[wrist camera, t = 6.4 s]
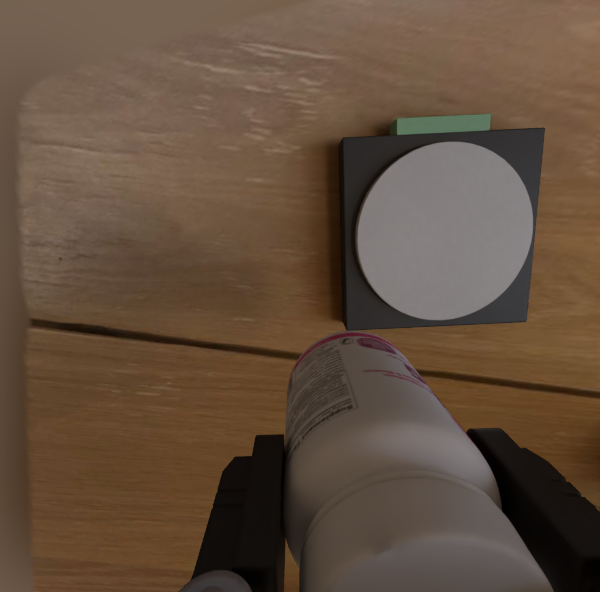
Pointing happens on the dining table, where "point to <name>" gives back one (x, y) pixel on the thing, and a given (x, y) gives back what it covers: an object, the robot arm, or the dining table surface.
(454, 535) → the pill bottle
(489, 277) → the scale
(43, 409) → the dining table surface
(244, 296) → the dining table surface
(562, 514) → the robot arm
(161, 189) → the dining table surface
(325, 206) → the dining table surface
